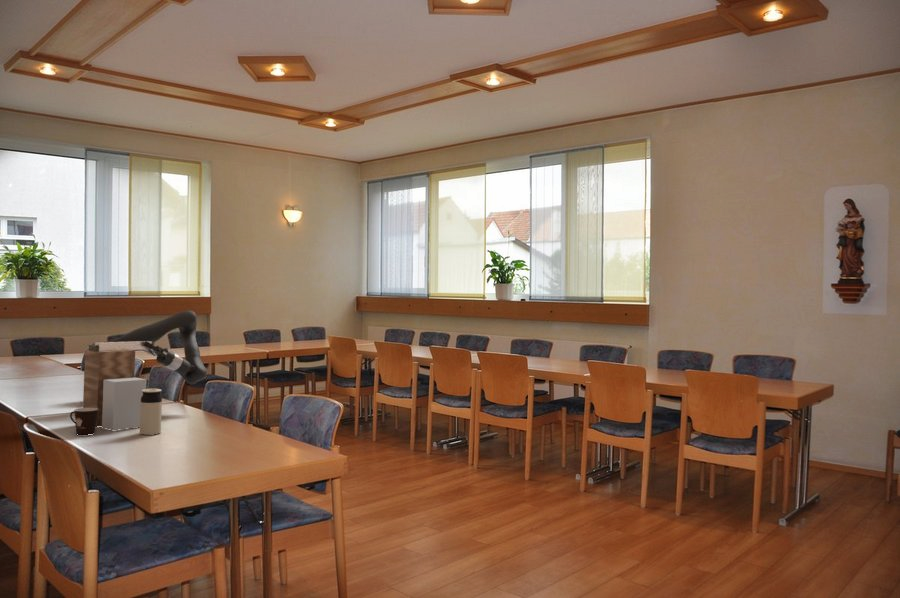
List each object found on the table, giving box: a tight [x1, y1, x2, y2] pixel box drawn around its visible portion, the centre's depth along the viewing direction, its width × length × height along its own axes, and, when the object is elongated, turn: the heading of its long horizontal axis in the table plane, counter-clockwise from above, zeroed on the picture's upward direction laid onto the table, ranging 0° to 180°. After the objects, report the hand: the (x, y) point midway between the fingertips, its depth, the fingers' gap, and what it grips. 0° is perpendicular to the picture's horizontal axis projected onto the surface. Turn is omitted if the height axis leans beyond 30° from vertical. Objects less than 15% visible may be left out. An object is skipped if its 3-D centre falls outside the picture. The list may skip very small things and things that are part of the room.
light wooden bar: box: [94, 341, 153, 351], centre depth 305 cm, size 24×4×4 cm, turn 144°
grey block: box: [101, 376, 148, 430], centre depth 293 cm, size 14×9×20 cm, turn 144°
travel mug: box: [139, 388, 163, 436], centre depth 283 cm, size 8×8×18 cm
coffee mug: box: [69, 407, 98, 436], centre depth 278 cm, size 12×9×10 cm
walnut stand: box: [82, 344, 136, 427], centre depth 300 cm, size 16×12×34 cm
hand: (141, 342), depth 312 cm, fingers open, 6 cm apart
